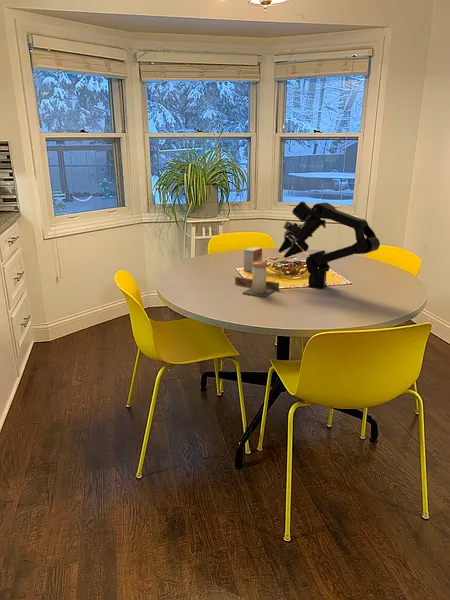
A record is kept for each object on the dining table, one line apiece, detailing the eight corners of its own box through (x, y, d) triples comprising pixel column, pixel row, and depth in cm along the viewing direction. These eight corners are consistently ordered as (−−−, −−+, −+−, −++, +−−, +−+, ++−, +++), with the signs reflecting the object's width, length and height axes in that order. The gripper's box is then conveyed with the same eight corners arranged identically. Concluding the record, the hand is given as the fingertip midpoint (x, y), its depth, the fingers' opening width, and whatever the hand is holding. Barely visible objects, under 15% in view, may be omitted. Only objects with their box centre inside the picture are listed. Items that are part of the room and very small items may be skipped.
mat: (274, 290, 191) (274, 289, 190) (265, 297, 182) (265, 296, 182) (252, 287, 195) (252, 286, 195) (242, 293, 187) (242, 292, 186)
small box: (252, 272, 218) (253, 250, 215) (243, 270, 222) (243, 249, 218) (262, 269, 224) (262, 248, 221) (252, 267, 228) (253, 246, 224)
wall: (278, 289, 192) (279, 282, 191) (277, 290, 191) (278, 283, 190) (236, 283, 201) (236, 276, 200) (235, 283, 200) (235, 277, 199)
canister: (268, 290, 190) (269, 262, 186) (262, 294, 185) (263, 265, 181) (255, 288, 192) (255, 260, 188) (249, 292, 187) (249, 263, 183)
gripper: (289, 211, 198) (264, 237, 200) (302, 218, 180) (274, 246, 183) (306, 229, 201) (280, 254, 204) (320, 237, 184) (292, 265, 186)
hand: (281, 254), depth 194 cm, fingers open, 9 cm apart
